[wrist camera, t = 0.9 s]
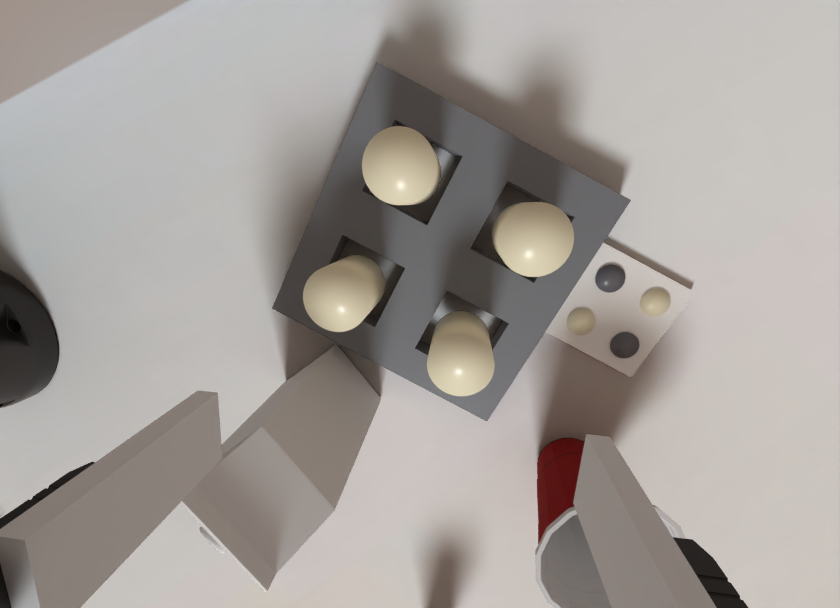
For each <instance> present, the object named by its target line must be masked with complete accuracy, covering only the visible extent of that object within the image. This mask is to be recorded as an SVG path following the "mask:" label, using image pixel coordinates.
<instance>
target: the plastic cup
mask: <svg viewBox="0 0 840 608" xmlns="http://www.w3.org/2000/svg"><path fill="white" fill-rule="evenodd" d="M583 448H584V442H583V441H580V440H577V439H574V438H561V439H558V440H556V441H553V442H551V443H549V444H548V445H547V446H546V447H545V448H544V449H543V450H542V452H541V454H540V456H539V458H538V462H537V474H538V479H537V499H538V520H539V524H538V547H537V549H536V582H537V583H538V585H539V587H540V589H541V591H542V593H543V595H544V597H545V598H546V600H547V602H548V603H549V604H551V605H552V606H553V607H555V608H612V607H611V605H610V602H609V599H608V596H607V594H606V591H605V588H604V586H603V583H602V580H601V577H600V575H599V572H598V569H597V566H596V564H595V561H594V558H593V555H592V553H591V550H590V547H589V545H588V542H587V539H586V536H585V534H584V531H583V528H582V525H581V523H580V520H579V517H578V514H577V512H576V509H575V506H574V504H573V501H574V496H575V490H576V485H577V480H578V474H579V469H580V464H581V458H582V453H583ZM653 507H654V508H655V510H656V512H657V513H658V515H659V516H660V518H661V519H662V521H663V523H664V524H665V526H666V527H667V529H668V531H669V532H670V534H671V535H672V537H676V538H683V539H686V538H685V536H684V534H683V531H682V529H681V527H680V526H679V525H678V524H677V523H676V522H675V521H673V520H672V519H671V518H670V517H669V516H668V515H666V514H665V513H664V512H663V511H662V510H660V509H659V508H658V507H656V506H655V505H653Z"/></svg>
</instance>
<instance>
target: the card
mask: <svg viewBox="0 0 840 608" xmlns="http://www.w3.org/2000/svg"><path fill="white" fill-rule="evenodd" d="M694 293H695V292H694V291H692V290H690V289H688V288H687V287H685V286H683V285H681V284H679V283H677V282H675V281H674V280H672V279H670V278H668V277H666V276H664V275H663V274H661V273H659V272H657V271H655V270H653V269H651V268H650V267H648V266H646V265H644V264H642V263H640V262H639V261H637V260H635V259H633V258H631V257H629V256H627V255H626V254H624V253H622V252H620V251H618V250H616V249H615V248H613V247H611V246H609V245H607V244H605V243H603V244H602V245H601V247H600V248H599V250H598V252H597V253H596V255H595V256H594V258H593V259H592V261H591V262H590V264H589V265H588V267H587V268H586V270H585V271H584V273H583V275H582V276H581V278H580V279H579V281H578V282H577V284H576V285H575V287H574V288H573V290H572V291H571V293H570V295H569V296H568V298H567V299H566V301H565V302H564V304H563V305H562V307H561V308H560V310H559V311H558V313H557V314H556V316H555V318H554V319H553V321H552V322H551V324H550V325H549V327H548V328H547V330H546V331H545V332H547V333H548V334H550V335H552V336H554V337H556V338H558V339H560V340H562V341H563V342H565V343H567V344H569V345H571V346H573V347H575V348H577V349H578V350H580V351H582V352H584V353H586V354H588V355H590V356H592V357H593V358H595V359H597V360H599V361H601V362H603V363H605V364H607V365H608V366H610V367H612V368H614V369H616V370H618V371H620V372H622V373H623V374H625V375H627V376H629V377H632V376H633V375H634V373H635V372H636V371H637V369H638V368H639V367H640V365H641V364H642V363H643V361H644V360H645V359H646V357H647V356H648V355H649V353H650V352H651V351H652V349H653V348H654V347H655V345H656V344H657V343H658V341H659V340H660V339H661V337H662V336H663V334H664V333H665V332H666V330H667V329H668V328H669V326H670V325H671V324H672V322H673V321H674V320H675V318H676V317H677V316H678V314H679V313H680V312H681V310H682V309H683V308H684V306H685V305H686V304H687V302H688V301H689V300H690V298H691V297H692V296H693V294H694Z"/></svg>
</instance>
